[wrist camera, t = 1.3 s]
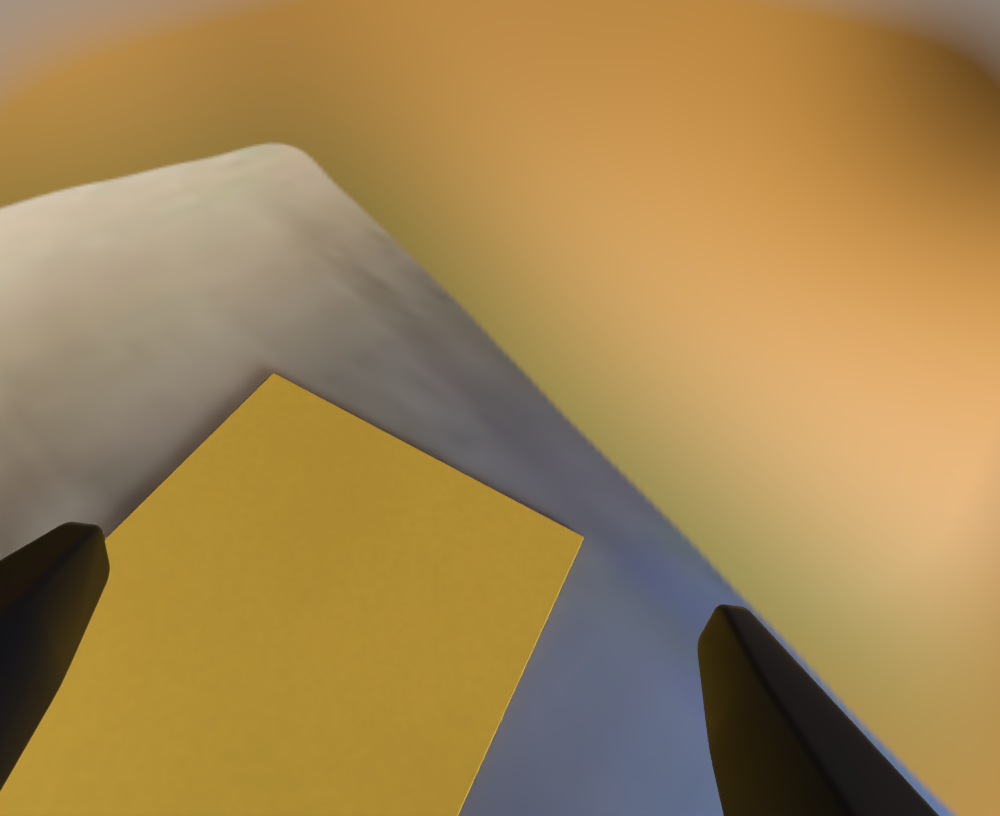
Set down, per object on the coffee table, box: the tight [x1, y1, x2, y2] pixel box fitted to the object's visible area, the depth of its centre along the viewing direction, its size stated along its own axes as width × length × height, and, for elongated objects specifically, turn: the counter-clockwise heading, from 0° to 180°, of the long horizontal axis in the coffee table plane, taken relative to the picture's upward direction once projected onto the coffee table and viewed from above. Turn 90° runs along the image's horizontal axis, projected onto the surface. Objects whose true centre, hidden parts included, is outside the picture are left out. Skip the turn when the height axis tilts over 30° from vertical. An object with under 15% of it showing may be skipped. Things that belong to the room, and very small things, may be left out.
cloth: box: [0, 373, 584, 816], centre depth 23 cm, size 19×16×1 cm
